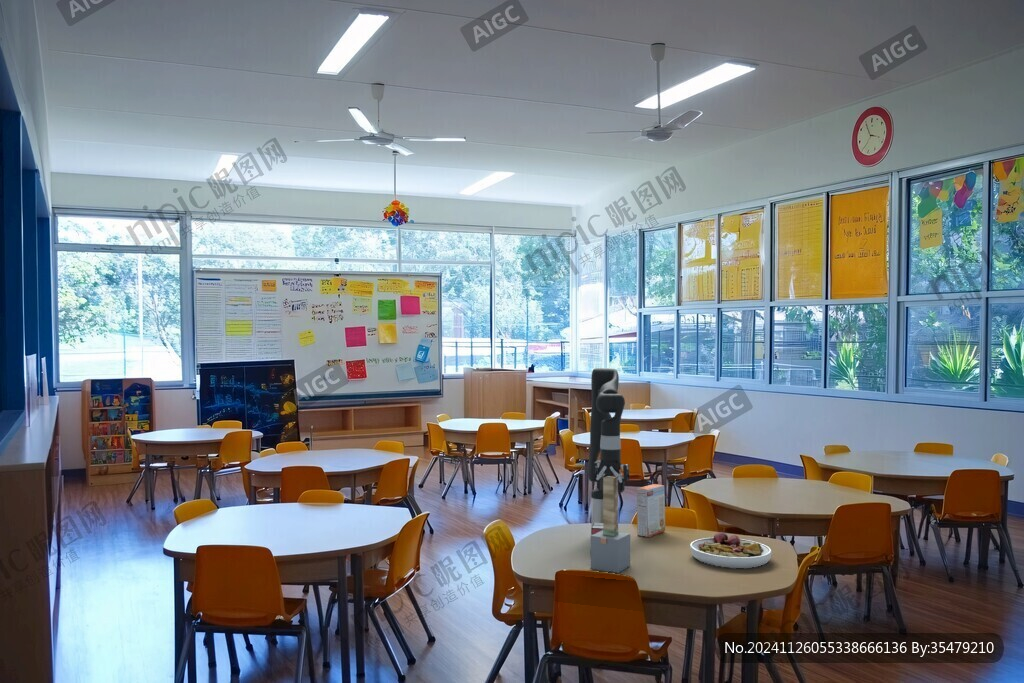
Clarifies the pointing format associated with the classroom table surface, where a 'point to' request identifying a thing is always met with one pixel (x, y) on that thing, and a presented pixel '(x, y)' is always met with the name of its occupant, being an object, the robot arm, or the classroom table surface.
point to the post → (610, 506)
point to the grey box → (610, 552)
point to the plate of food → (730, 551)
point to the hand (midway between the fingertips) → (610, 491)
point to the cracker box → (650, 510)
